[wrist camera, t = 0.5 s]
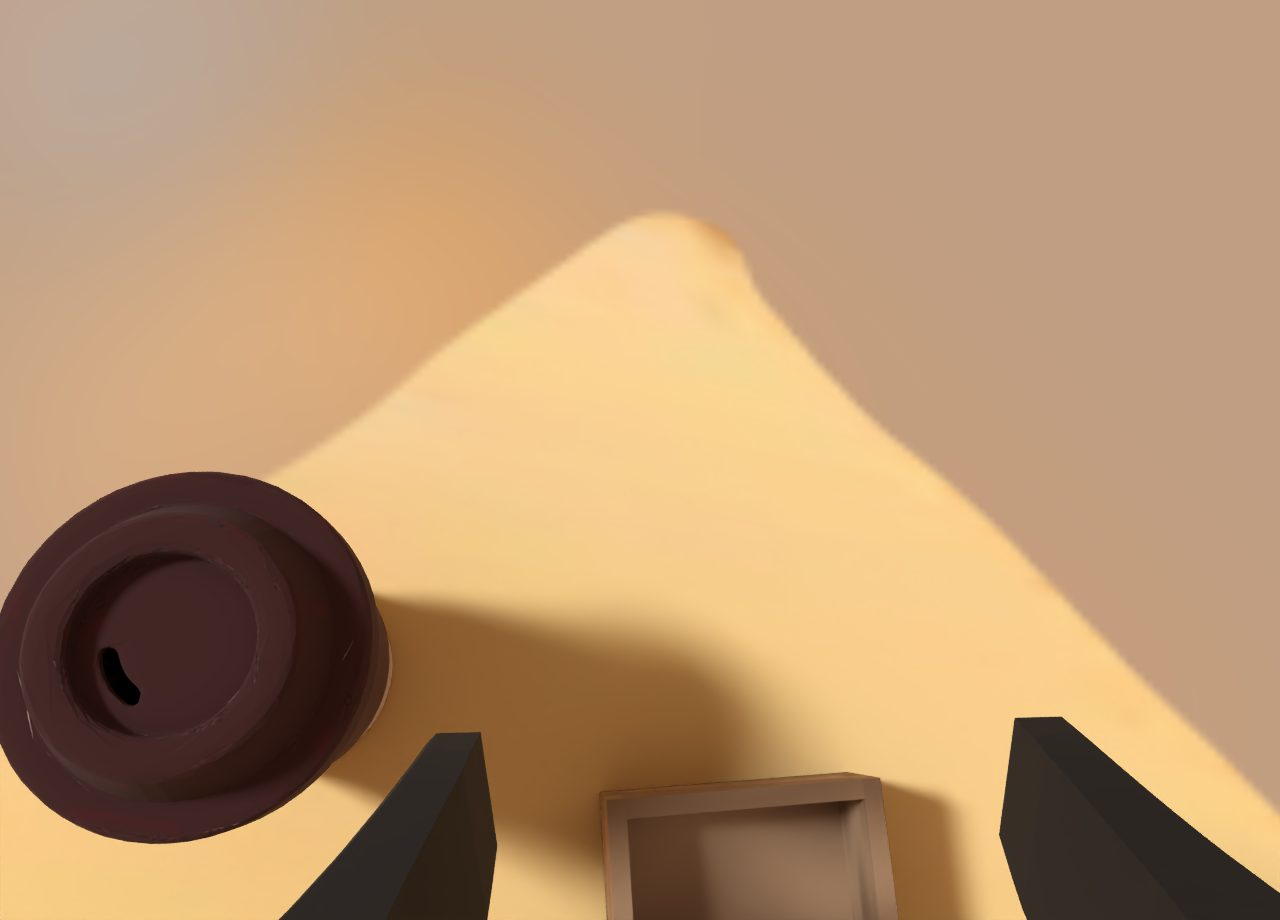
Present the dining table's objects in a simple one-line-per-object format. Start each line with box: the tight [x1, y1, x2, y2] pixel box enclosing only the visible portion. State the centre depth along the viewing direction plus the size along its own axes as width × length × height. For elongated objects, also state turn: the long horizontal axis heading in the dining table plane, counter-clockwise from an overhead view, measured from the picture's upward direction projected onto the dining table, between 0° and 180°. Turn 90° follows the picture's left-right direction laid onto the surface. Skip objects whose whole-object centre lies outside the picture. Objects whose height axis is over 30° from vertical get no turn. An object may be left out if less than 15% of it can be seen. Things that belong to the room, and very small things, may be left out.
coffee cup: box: [0, 472, 393, 844], centre depth 31 cm, size 10×10×15 cm
